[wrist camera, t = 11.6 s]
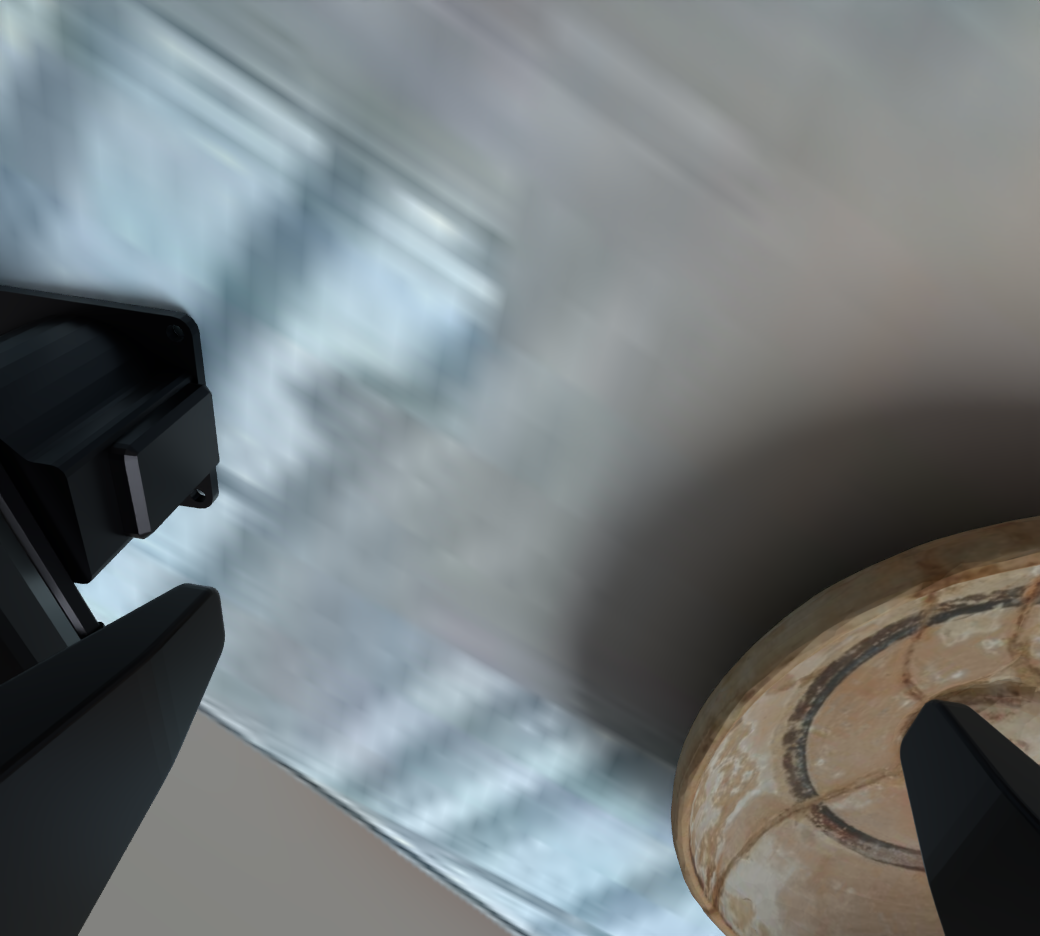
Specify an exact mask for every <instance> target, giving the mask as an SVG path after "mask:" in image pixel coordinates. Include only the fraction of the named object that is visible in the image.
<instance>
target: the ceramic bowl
mask: <svg viewBox="0 0 1040 936" xmlns="http://www.w3.org/2000/svg"><path fill="white" fill-rule="evenodd" d="M934 699H938V700H944V701H951V702H957V703H962V704H965V705H967V706H969V707H970V708H972V709H973V710H974V711H976V712H977V713H978V714H979V715H980V716H981V717H983V718H984V719H985V720H986V721H987V722H989V723H990V724H991V725H992V726H993V727H995V728H996V729H997V730H998V731H999V732H1000V733H1002V734H1003V735H1004V736H1005V737H1006V738H1008V739H1009V740H1010V741H1011V742H1012V743H1014V744H1015V745H1016V746H1017V747H1018V748H1020V749H1021V750H1022V751H1023V752H1024V753H1025V754H1027V755H1028V756H1029V757H1030V758H1031V759H1033V760H1034V761H1035V762H1036V763H1037V764H1039V765H1040V516H1036V517H1030V518H1024V519H1018V520H1012V521H1008V522H1003V523H999V524H995V525H990V526H986V527H982V528H978V529H973V530H969V531H965V532H961V533H958V534H954V535H951V536H947V537H943V538H940V539H936V540H934V541H931V542H928V543H925V544H922V545H919V546H916V547H914V548H911V549H909V550H907V551H904V552H902V553H900V554H897V555H895V556H893V557H890V558H888V559H886V560H883V561H881V562H879V563H876V564H874V565H872V566H870V567H867V568H865V569H863V570H861V571H859V572H857V573H855V574H853V575H851V576H849V577H847V578H845V579H843V580H841V581H839V582H837V583H835V584H833V585H832V586H830V587H828V588H827V589H825V590H823V591H822V592H820V593H818V594H817V595H815V596H814V597H812V598H811V599H809V600H808V601H807V602H805V603H804V604H803V605H801V606H800V607H798V608H797V609H796V610H794V611H793V612H792V613H790V614H789V615H788V616H786V617H785V618H784V619H782V620H781V621H780V622H779V623H778V624H777V625H776V626H774V627H773V628H772V629H771V630H770V631H769V632H767V633H766V634H765V635H764V636H763V637H762V638H760V639H759V640H758V641H757V642H756V643H755V644H754V645H753V646H752V647H751V648H750V649H749V650H748V651H747V652H746V653H745V654H744V655H743V656H742V657H741V658H740V659H739V661H738V662H737V663H736V664H735V665H734V666H733V667H732V668H731V669H730V671H729V672H728V673H727V674H726V675H725V676H724V677H723V679H722V680H721V681H720V683H719V684H718V685H717V687H716V688H715V689H714V691H713V692H712V693H711V695H710V696H709V697H708V699H707V700H706V702H705V704H704V705H703V707H702V708H701V710H700V711H699V713H698V715H697V717H696V719H695V721H694V723H693V725H692V726H691V729H690V731H689V733H688V735H687V737H686V740H685V742H684V744H683V747H682V751H681V754H680V757H679V760H678V764H677V769H676V774H675V778H674V785H673V796H672V807H671V824H672V835H673V843H674V847H675V851H676V855H677V858H678V861H679V864H680V868H681V871H682V874H683V877H684V880H685V882H686V884H687V886H688V888H689V890H690V892H691V894H692V896H693V897H694V898H695V900H696V901H697V902H698V903H699V905H700V906H701V907H702V909H703V911H704V912H705V913H706V915H707V916H708V917H709V918H710V919H711V920H712V922H713V923H714V924H715V925H716V926H717V927H718V928H719V929H720V930H721V931H722V932H723V933H724V934H725V935H726V936H945V934H944V931H943V928H942V925H941V922H940V919H939V916H938V913H937V910H936V907H935V904H934V900H933V897H932V894H931V890H930V887H929V884H928V880H927V876H926V872H925V868H924V864H923V860H922V855H921V851H920V847H919V842H918V838H917V833H916V829H915V824H914V820H913V815H912V811H911V806H910V802H909V797H908V793H907V788H906V784H905V779H904V775H903V770H902V766H901V761H900V746H901V742H902V739H903V737H904V736H905V734H906V733H907V731H908V729H909V728H910V726H911V725H912V723H913V722H914V720H915V718H916V717H917V715H918V714H919V712H920V710H921V709H922V707H923V706H924V705H925V703H927V702H928V701H930V700H934Z"/></svg>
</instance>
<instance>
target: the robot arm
mask: <svg viewBox="0 0 1040 936" xmlns="http://www.w3.org/2000/svg"><path fill="white" fill-rule="evenodd" d="M174 325H176V326H178V327H179V328H180V329H181V330H182V331H183V334H184V337H181V336H179V335H178V334H177V333H176V332H175V331H174V328H173V326H174ZM218 463H219V452H218V444H217V435H216V427H215V418H214V410H213V401H212V394H211V392H210V390H209V389H208V387H207V386H206V382H205V374H204V366H203V358H202V349H201V341H200V333H199V329H198V326H197V324H196V323H195V321H194V320H193V319H192V318H191V317H190V316H188V315H187V314H184V313H181V312H176V311H170V310H163V309H156V308H149V307H143V306H136V305H129V304H123V303H116V302H109V301H103V300H96V299H89V298H83V297H76V296H69V295H62V294H56V293H49V292H42V291H36V290H29V289H22V288H16V287H9V286H2V285H0V936H78V934H79V932H80V930H81V929H82V927H83V925H84V923H85V921H86V920H87V918H88V916H89V915H90V913H91V911H92V909H93V907H94V905H95V904H96V902H97V900H98V898H99V897H100V895H101V893H102V891H103V890H104V888H105V886H106V884H107V882H108V881H109V879H110V877H111V875H112V873H113V872H114V870H115V868H116V866H117V865H118V863H119V861H120V859H121V857H122V856H123V854H124V852H125V850H126V849H127V847H128V845H129V843H130V842H131V840H132V838H133V836H134V834H135V833H136V831H137V829H138V827H139V826H140V824H141V822H142V820H143V818H144V817H145V815H146V813H147V811H148V810H149V808H150V806H151V804H152V802H153V801H154V799H155V797H156V795H157V794H158V792H159V790H160V788H161V786H162V785H163V783H164V781H165V779H166V777H167V775H168V773H169V771H170V770H171V768H172V766H173V764H174V762H175V759H176V757H177V755H178V753H179V751H180V749H181V746H182V744H183V742H184V739H185V737H186V734H187V732H188V730H189V728H190V725H191V723H192V721H193V718H194V716H195V714H196V712H197V709H198V707H199V705H200V702H201V700H202V698H203V695H204V693H205V691H206V688H207V686H208V684H209V681H210V679H211V677H212V674H213V672H214V670H215V667H216V665H217V663H218V660H219V658H220V656H221V653H222V650H223V647H224V642H225V630H224V623H223V615H222V608H221V600H220V595H219V593H218V591H217V590H216V589H215V588H213V587H209V586H203V585H196V584H190V583H186V584H181V585H179V586H177V587H175V588H173V589H171V590H170V591H168V592H166V593H164V594H162V595H161V596H159V597H157V598H155V599H153V600H152V601H150V602H148V603H146V604H144V605H143V606H141V607H139V608H137V609H135V610H134V611H132V612H130V613H128V614H126V615H125V616H123V617H121V618H119V619H117V620H116V621H114V622H112V623H110V624H108V625H107V626H105V625H104V624H103V623H102V622H97V620H96V619H95V617H94V615H93V614H92V612H91V610H90V609H89V607H88V605H87V604H86V602H85V601H84V599H83V597H82V596H81V594H80V592H79V591H78V589H77V587H76V586H75V584H74V583H80V584H88V583H89V582H91V581H92V580H93V579H94V578H95V577H96V576H97V575H98V574H99V572H100V571H101V570H102V569H103V568H104V567H105V566H106V565H107V564H108V563H109V562H110V561H111V560H112V559H113V558H114V557H115V556H116V555H117V554H118V553H119V552H120V551H121V550H122V549H123V548H124V547H125V546H126V545H127V544H128V543H129V542H130V541H131V540H132V539H133V538H139V539H145V538H147V537H148V536H149V535H151V534H152V533H153V532H154V531H155V530H156V529H157V528H158V527H159V526H160V525H161V524H162V523H163V522H164V521H165V520H166V519H167V518H168V516H169V515H170V514H171V513H172V512H173V511H174V510H175V509H176V508H177V507H178V506H179V505H181V506H187V507H194V508H207V507H209V506H210V505H211V504H212V503H213V502H214V501H215V500H216V498H217V497H218V494H219V489H218V481H217V473H216V465H217V464H218ZM197 489H198V490H201V491H202V492H203V493H204V494H205V496H204V495H201V494H200V493H199V492H198V491H197ZM900 761H901V766H902V770H903V775H904V779H905V784H906V788H907V793H908V797H909V802H910V806H911V811H912V815H913V820H914V824H915V829H916V833H917V838H918V842H919V847H920V851H921V855H922V860H923V864H924V868H925V872H926V876H927V880H928V884H929V887H930V890H931V894H932V897H933V900H934V904H935V907H936V910H937V913H938V916H939V919H940V922H941V925H942V928H943V931H944V934H945V936H1040V765H1039V764H1037V763H1036V762H1035V761H1034V760H1033V759H1031V758H1030V757H1029V756H1028V755H1027V754H1025V753H1024V752H1023V751H1022V750H1021V749H1020V748H1018V747H1017V746H1016V745H1015V744H1014V743H1012V742H1011V741H1010V740H1009V739H1008V738H1006V737H1005V736H1004V735H1003V734H1002V733H1000V732H999V731H998V730H997V729H996V728H995V727H993V726H992V725H991V724H990V723H989V722H987V721H986V720H985V719H984V718H983V717H981V716H980V715H979V714H978V713H977V712H976V711H974V710H973V709H972V708H970V707H969V706H967V705H965V704H962V703H957V702H951V701H944V700H938V699H934V700H930V701H928V702H927V703H925V705H924V706H923V707H922V709H921V710H920V712H919V714H918V715H917V717H916V718H915V720H914V722H913V723H912V725H911V726H910V728H909V729H908V731H907V733H906V734H905V736H904V737H903V739H902V742H901V746H900Z"/></svg>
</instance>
